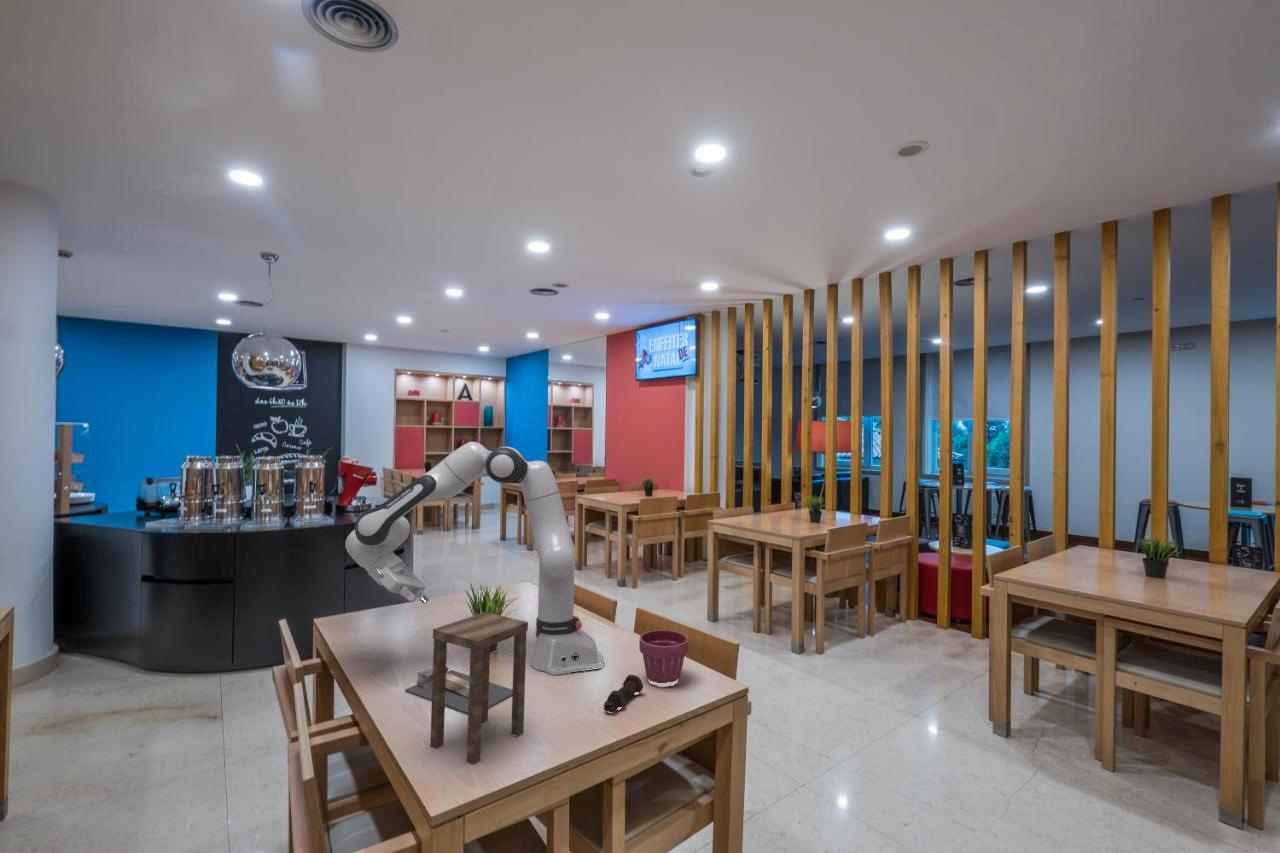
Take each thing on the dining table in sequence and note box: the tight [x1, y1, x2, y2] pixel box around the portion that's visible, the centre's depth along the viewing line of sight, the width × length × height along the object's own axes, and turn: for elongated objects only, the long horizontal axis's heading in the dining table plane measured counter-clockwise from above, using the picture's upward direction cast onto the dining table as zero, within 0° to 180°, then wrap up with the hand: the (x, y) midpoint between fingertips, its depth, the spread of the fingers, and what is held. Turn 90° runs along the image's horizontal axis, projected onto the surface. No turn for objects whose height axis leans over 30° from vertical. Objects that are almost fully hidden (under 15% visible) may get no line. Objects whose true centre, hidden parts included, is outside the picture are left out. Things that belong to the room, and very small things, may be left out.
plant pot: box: [639, 629, 689, 683], centre depth 165 cm, size 14×14×13 cm
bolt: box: [603, 674, 644, 713], centre depth 150 cm, size 6×5×15 cm
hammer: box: [416, 665, 469, 698], centre depth 154 cm, size 22×7×4 cm, turn 59°
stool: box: [429, 611, 529, 765], centre depth 131 cm, size 14×16×26 cm
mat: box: [404, 669, 513, 716], centre depth 155 cm, size 26×16×1 cm, turn 60°
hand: (420, 600), depth 165 cm, fingers open, 8 cm apart
